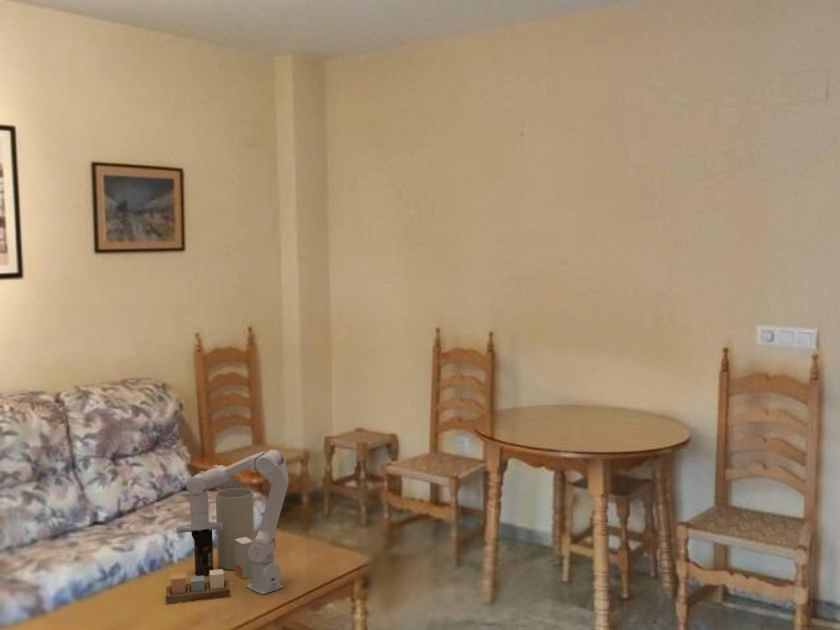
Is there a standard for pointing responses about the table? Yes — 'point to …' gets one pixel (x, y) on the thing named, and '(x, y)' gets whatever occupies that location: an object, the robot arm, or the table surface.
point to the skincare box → (242, 557)
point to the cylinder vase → (233, 522)
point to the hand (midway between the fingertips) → (200, 552)
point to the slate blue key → (197, 583)
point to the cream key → (216, 579)
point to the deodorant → (204, 557)
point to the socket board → (197, 593)
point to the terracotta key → (178, 583)
